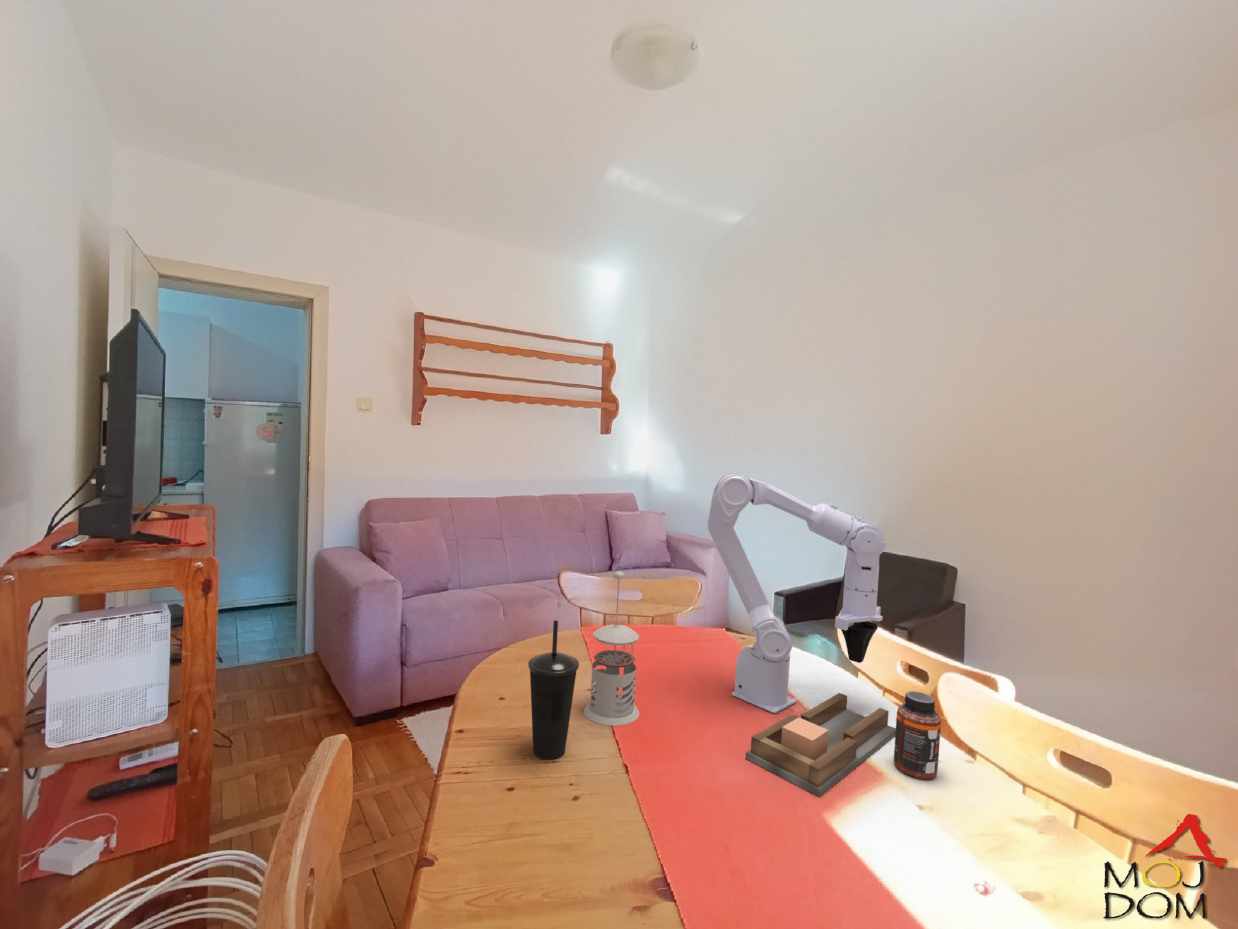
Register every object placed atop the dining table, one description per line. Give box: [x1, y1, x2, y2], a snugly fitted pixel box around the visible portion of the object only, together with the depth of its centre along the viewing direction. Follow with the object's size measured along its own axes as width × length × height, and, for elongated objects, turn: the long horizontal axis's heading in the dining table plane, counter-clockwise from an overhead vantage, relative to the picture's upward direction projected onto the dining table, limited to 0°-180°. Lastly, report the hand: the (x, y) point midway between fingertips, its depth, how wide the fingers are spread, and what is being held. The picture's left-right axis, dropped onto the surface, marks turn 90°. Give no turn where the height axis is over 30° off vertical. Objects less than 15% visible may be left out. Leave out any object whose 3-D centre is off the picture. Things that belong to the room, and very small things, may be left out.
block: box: [781, 717, 829, 761], centre depth 86 cm, size 5×5×4 cm
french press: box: [583, 570, 640, 727], centre depth 99 cm, size 10×12×25 cm
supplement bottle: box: [893, 691, 942, 780], centre depth 85 cm, size 6×6×11 cm
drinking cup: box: [527, 619, 580, 761], centre depth 85 cm, size 8×8×20 cm
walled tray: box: [745, 692, 896, 798], centre depth 91 cm, size 12×28×4 cm, turn 133°
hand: (855, 660), depth 104 cm, fingers closed
